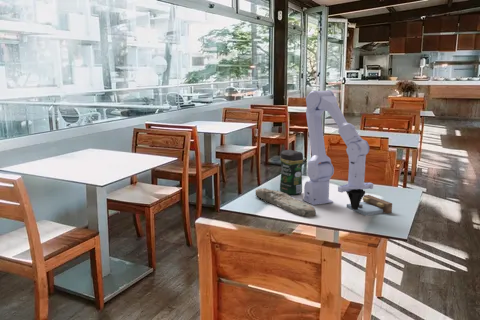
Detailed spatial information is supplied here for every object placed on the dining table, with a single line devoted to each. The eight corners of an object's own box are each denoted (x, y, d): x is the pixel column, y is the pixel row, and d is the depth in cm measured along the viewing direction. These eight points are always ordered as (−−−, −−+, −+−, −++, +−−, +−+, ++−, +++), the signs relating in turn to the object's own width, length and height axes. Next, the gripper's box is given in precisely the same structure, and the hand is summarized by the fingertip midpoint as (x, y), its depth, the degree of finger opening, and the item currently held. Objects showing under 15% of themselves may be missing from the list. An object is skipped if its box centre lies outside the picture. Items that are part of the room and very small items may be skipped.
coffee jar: (276, 191, 189) (277, 149, 186) (290, 188, 194) (291, 147, 190) (291, 196, 181) (292, 152, 178) (305, 193, 186) (306, 151, 182)
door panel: (365, 217, 157) (365, 209, 157) (346, 208, 167) (346, 201, 167) (382, 214, 160) (383, 206, 160) (363, 206, 170) (363, 199, 170)
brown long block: (383, 213, 159) (383, 204, 158) (360, 204, 170) (360, 195, 170) (391, 212, 160) (392, 203, 160) (368, 203, 172) (368, 194, 171)
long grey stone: (300, 223, 153) (322, 220, 159) (302, 209, 152) (323, 206, 158) (248, 195, 182) (267, 193, 188) (249, 183, 181) (268, 181, 186)
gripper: (347, 177, 152) (345, 214, 155) (379, 173, 158) (377, 209, 161) (335, 173, 159) (333, 208, 161) (367, 170, 164) (364, 204, 167)
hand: (354, 208), depth 161 cm, fingers closed
